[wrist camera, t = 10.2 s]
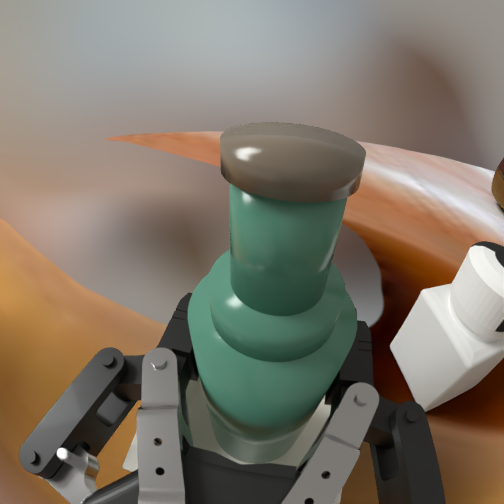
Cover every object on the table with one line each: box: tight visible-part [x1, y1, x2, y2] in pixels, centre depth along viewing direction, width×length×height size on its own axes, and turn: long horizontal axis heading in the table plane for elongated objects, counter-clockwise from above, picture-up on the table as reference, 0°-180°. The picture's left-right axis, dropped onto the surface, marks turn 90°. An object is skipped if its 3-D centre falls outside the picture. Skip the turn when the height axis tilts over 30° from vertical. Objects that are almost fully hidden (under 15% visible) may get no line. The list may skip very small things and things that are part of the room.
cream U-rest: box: [122, 376, 342, 504], centre depth 16 cm, size 11×11×4 cm
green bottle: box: [188, 122, 366, 463], centre depth 11 cm, size 5×5×16 cm
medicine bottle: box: [390, 241, 504, 412], centre depth 17 cm, size 7×7×12 cm
